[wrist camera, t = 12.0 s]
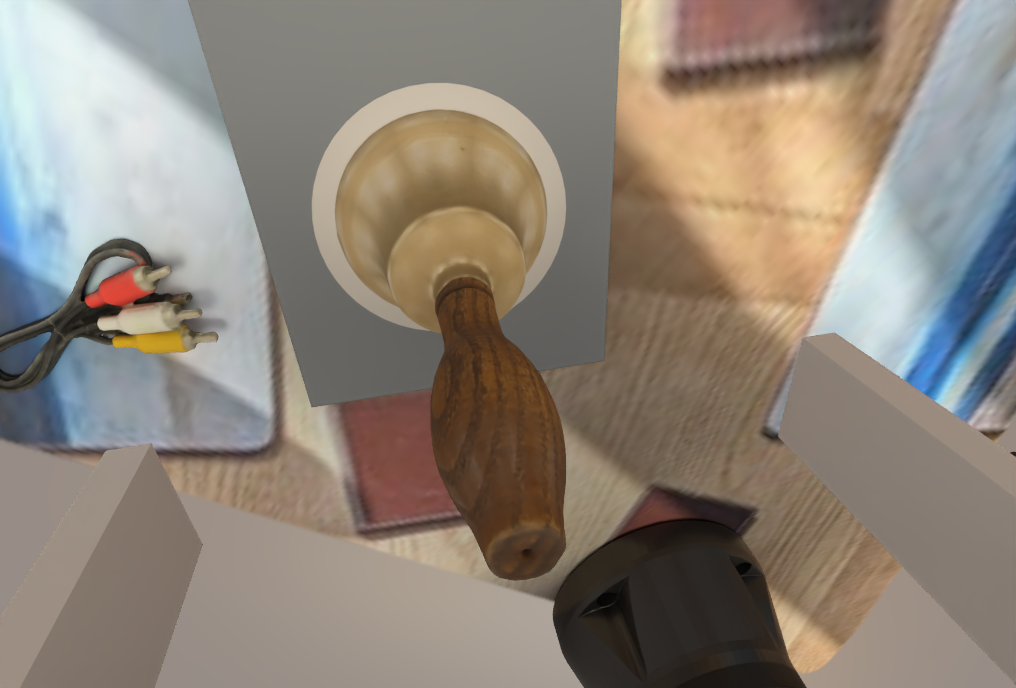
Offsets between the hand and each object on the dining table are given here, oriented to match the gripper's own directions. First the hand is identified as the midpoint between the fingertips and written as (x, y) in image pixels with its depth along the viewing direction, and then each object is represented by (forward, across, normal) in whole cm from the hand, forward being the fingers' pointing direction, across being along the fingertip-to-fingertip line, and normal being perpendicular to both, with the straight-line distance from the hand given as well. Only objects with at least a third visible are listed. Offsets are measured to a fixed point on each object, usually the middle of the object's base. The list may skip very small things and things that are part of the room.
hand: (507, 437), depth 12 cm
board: (+14, 0, -1) cm, 14 cm away
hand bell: (+13, 0, -1) cm, 13 cm away
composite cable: (+15, +15, +2) cm, 21 cm away
